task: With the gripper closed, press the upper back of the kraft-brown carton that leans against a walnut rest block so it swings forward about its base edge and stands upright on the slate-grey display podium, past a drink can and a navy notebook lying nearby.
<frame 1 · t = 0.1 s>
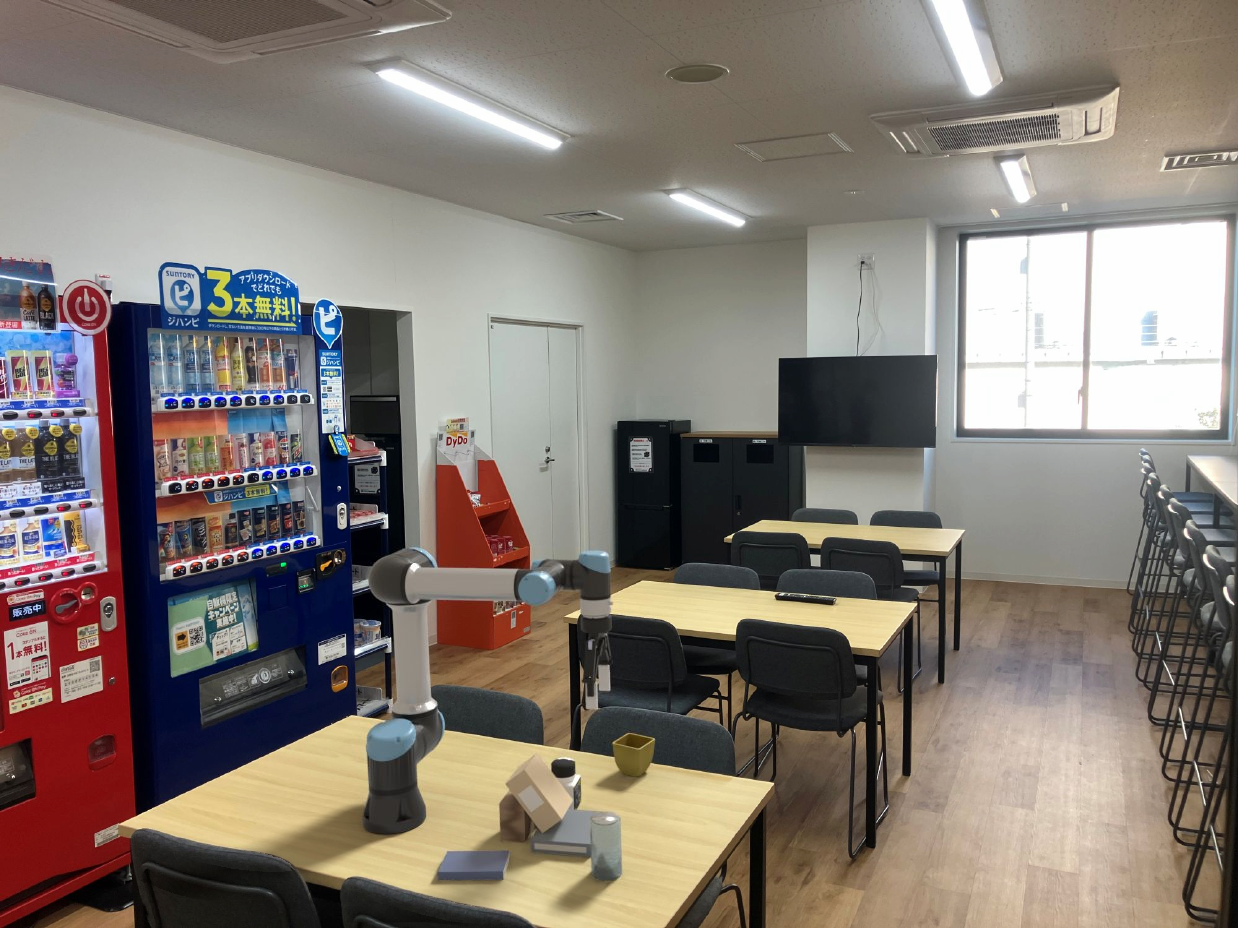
hand: (598, 699, 226), 28 cm above the table, fingers open, 13 cm apart
medicine bottle: (564, 807, 230), on the table
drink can: (606, 872, 198), on the table
flower pot: (634, 773, 250), on the table
carton: (539, 792, 215), point 10 cm above the table, hinge at -37.5°, touching rest block
notebook: (474, 871, 201), on the table
podium: (569, 837, 214), on the table
rest block: (518, 833, 217), on the table
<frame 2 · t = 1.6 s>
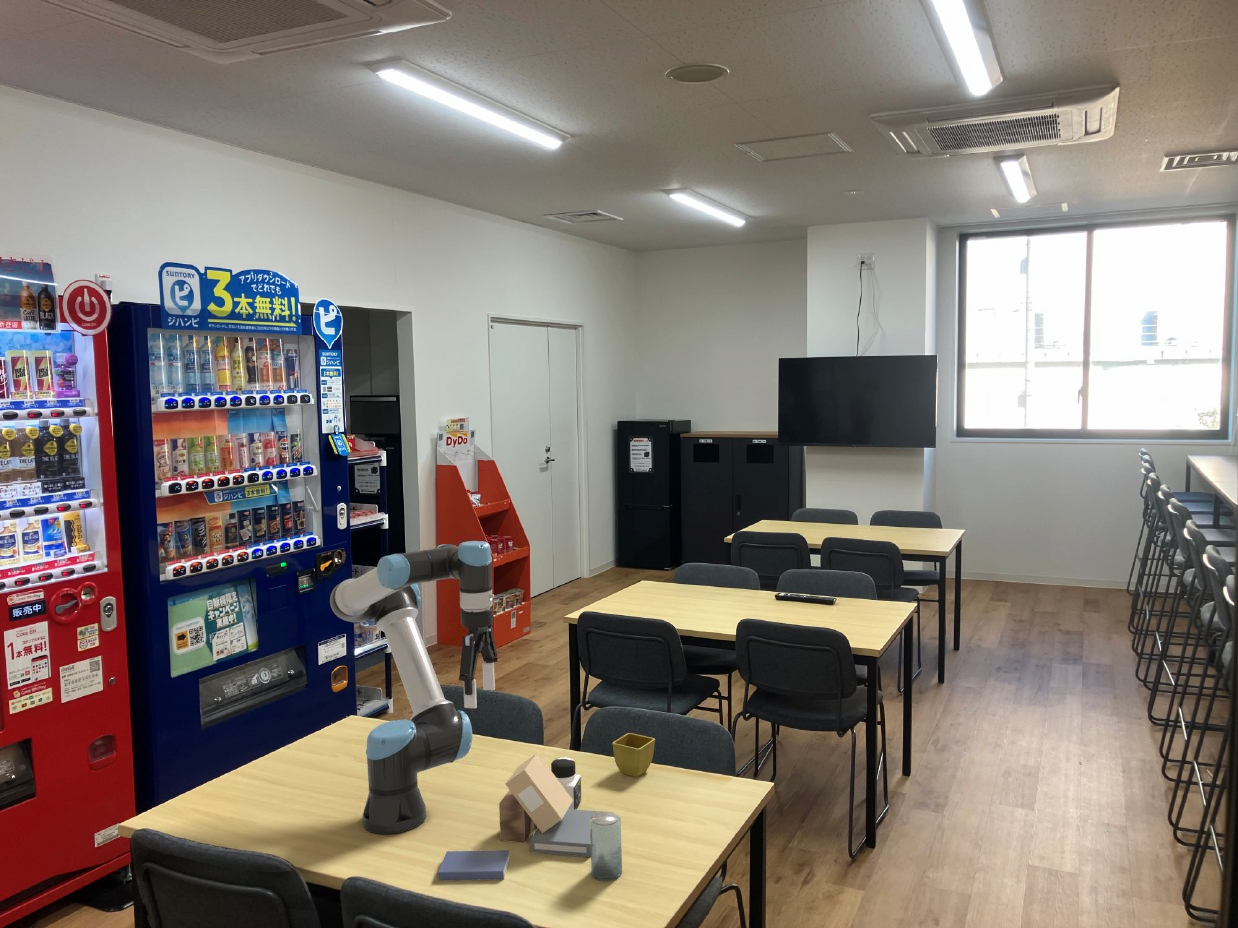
hand: (480, 698, 216), 32 cm above the table, fingers open, 12 cm apart
nothing on the table moved.
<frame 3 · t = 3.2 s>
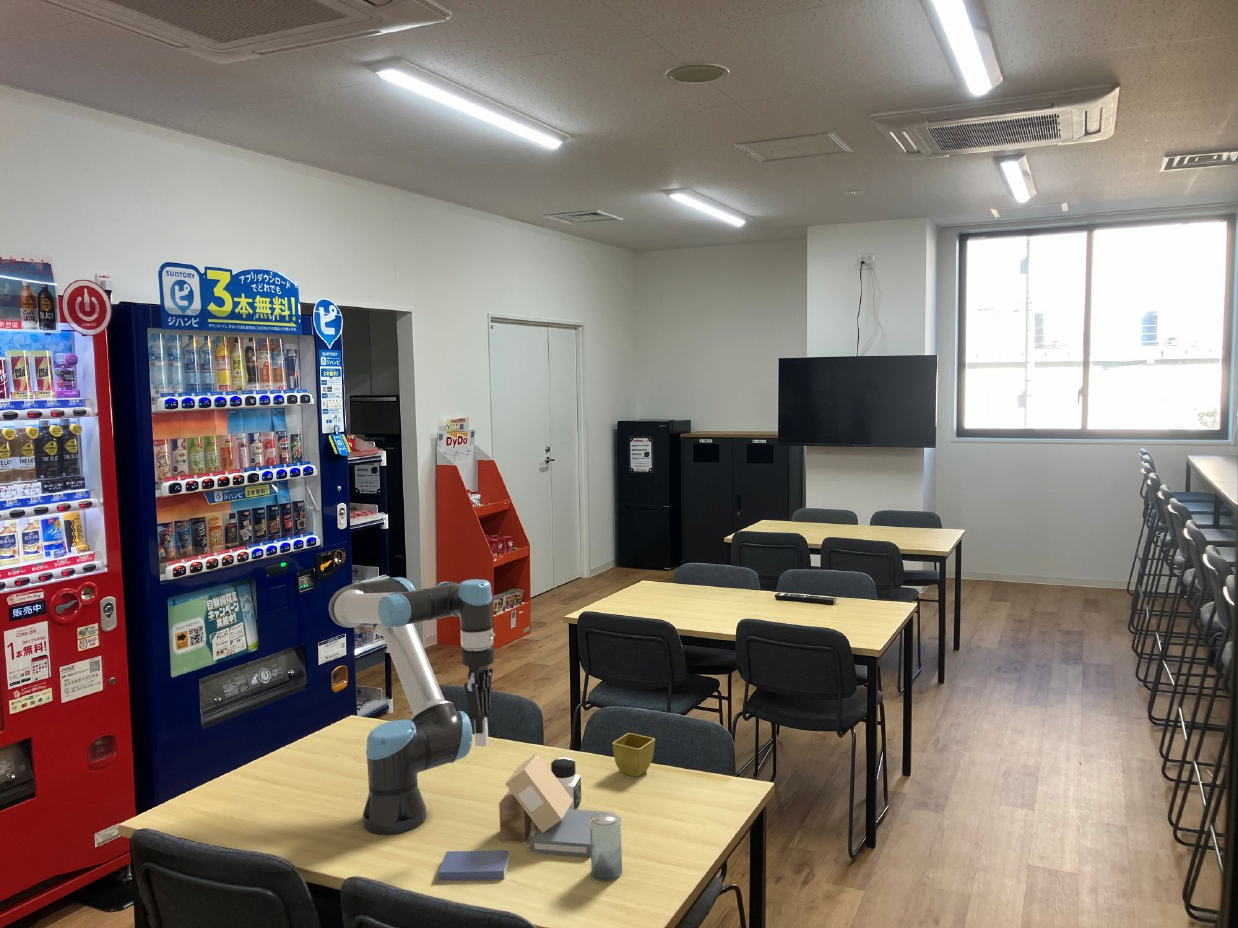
hand: (481, 744, 217), 21 cm above the table, fingers closed
nothing on the table moved.
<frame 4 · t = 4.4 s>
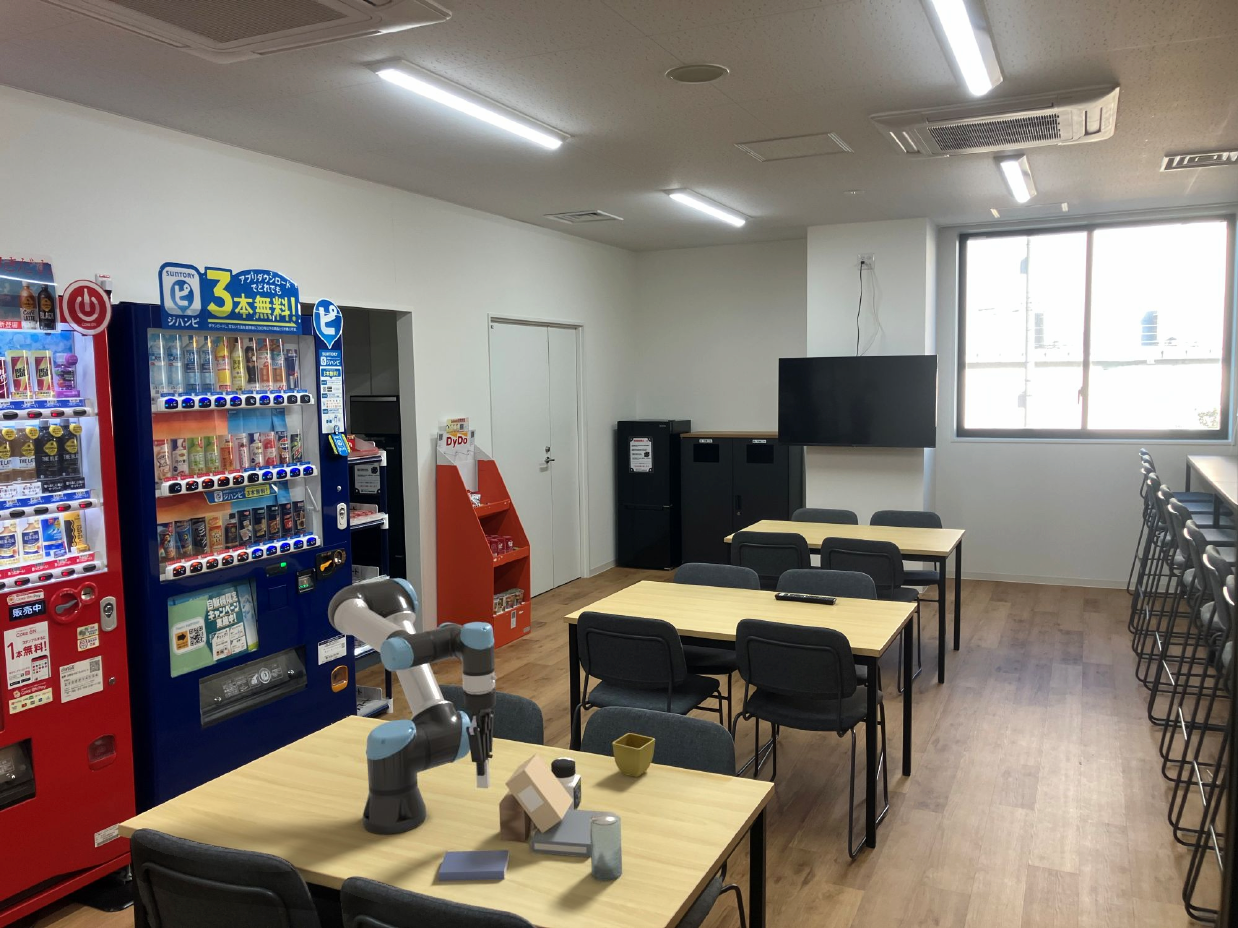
hand: (483, 786, 217), 11 cm above the table, fingers closed
nothing on the table moved.
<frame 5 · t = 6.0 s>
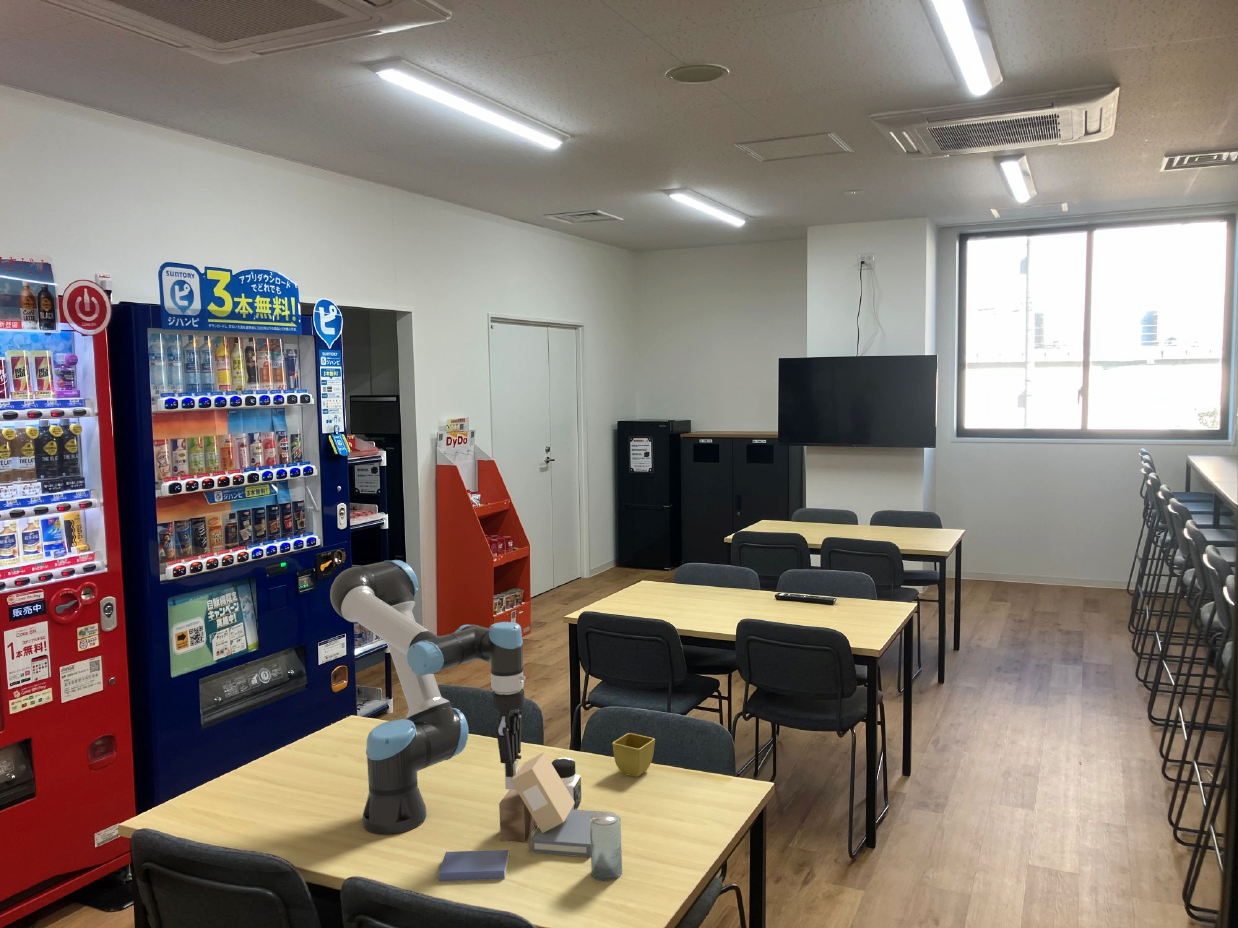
hand: (512, 787, 216), 11 cm above the table, fingers closed
carton: (543, 791, 214), point 11 cm above the table, hinge at -30.4°, touching gripper
everything else where it was.
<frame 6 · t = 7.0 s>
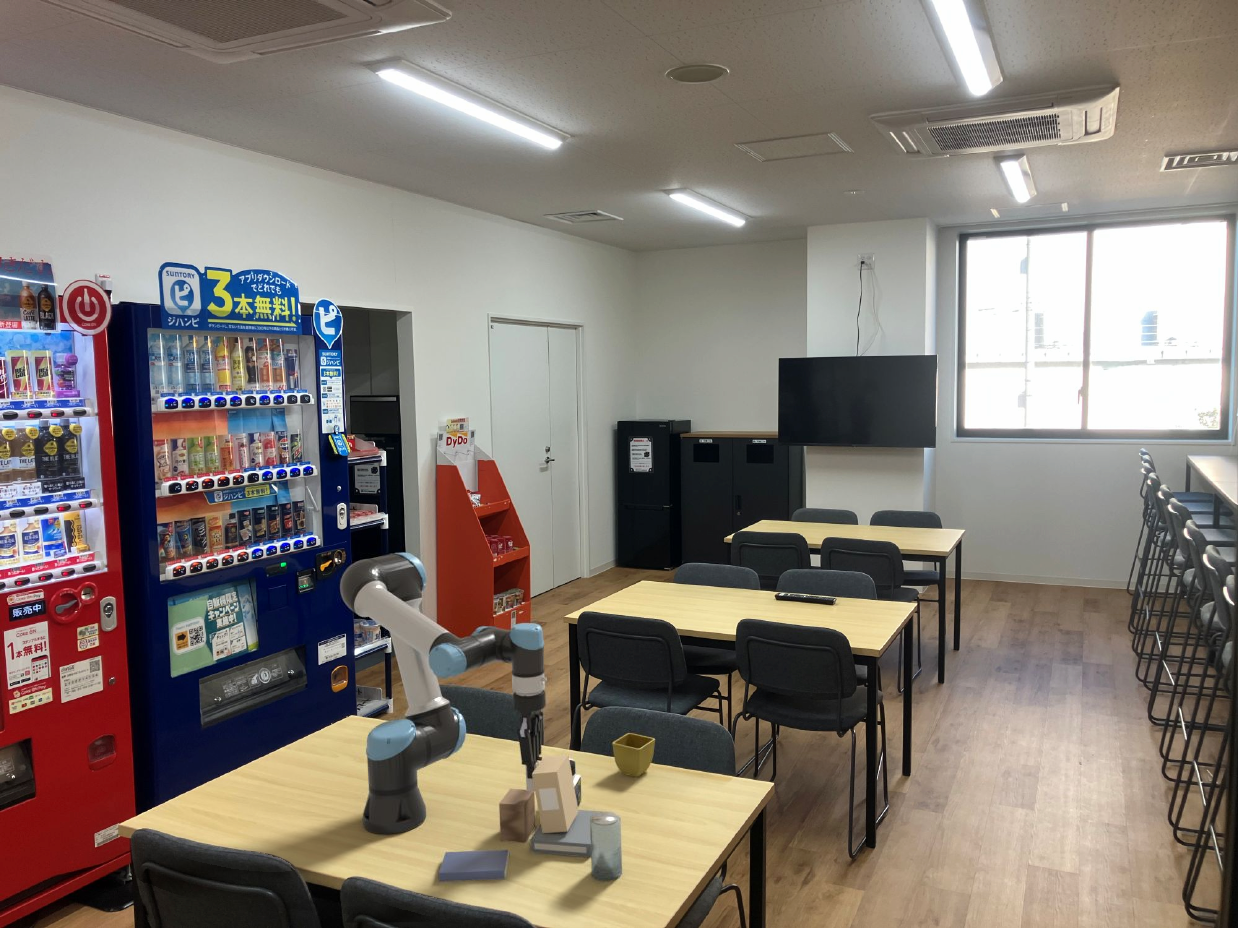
hand: (533, 789, 215), 11 cm above the table, fingers closed
carton: (555, 793, 214), point 11 cm above the table, hinge at -8.4°
everything else where it was.
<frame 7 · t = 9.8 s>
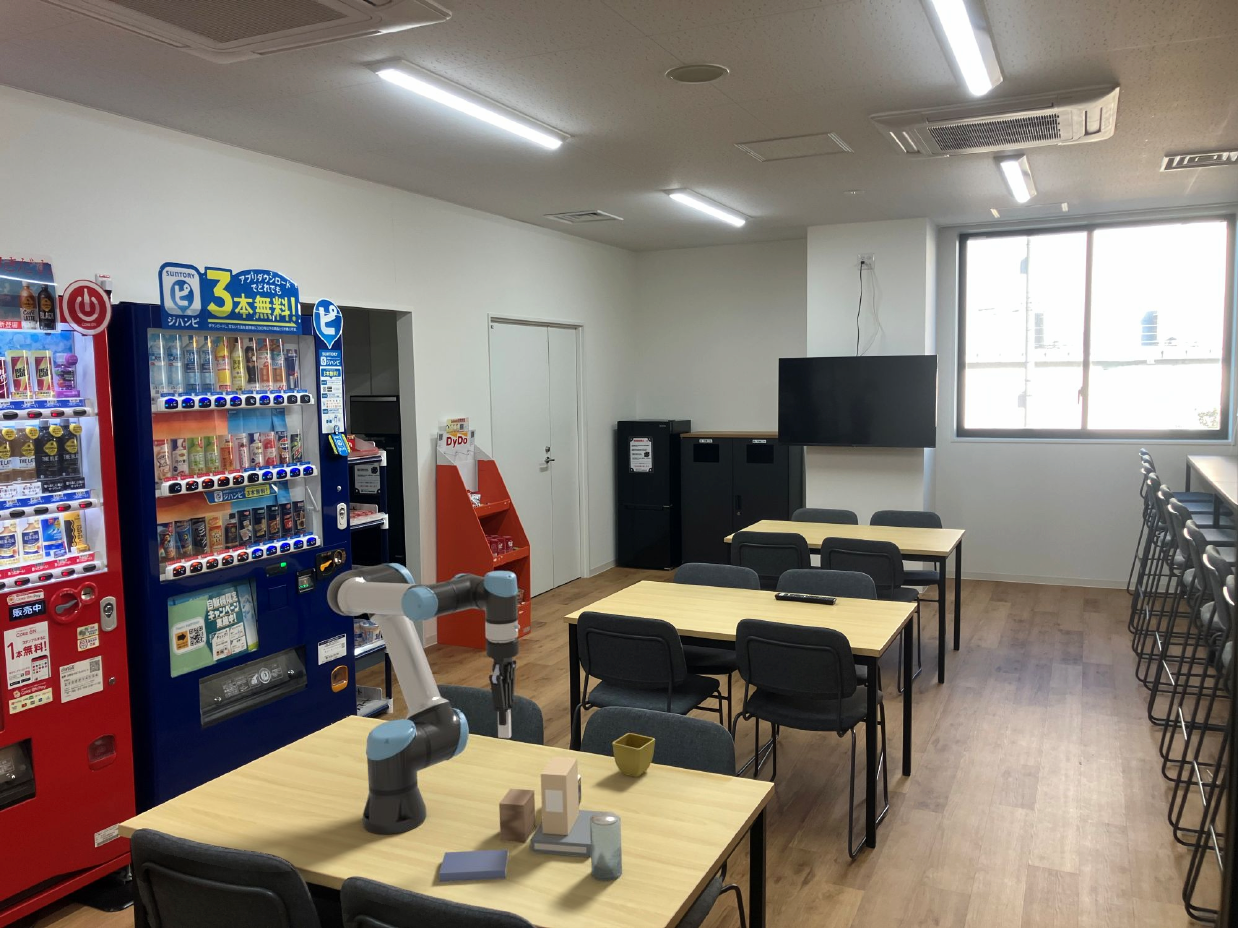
hand: (504, 736, 216), 23 cm above the table, fingers closed
carton: (560, 794, 214), point 10 cm above the table, hinge at 0.1°
everything else where it was.
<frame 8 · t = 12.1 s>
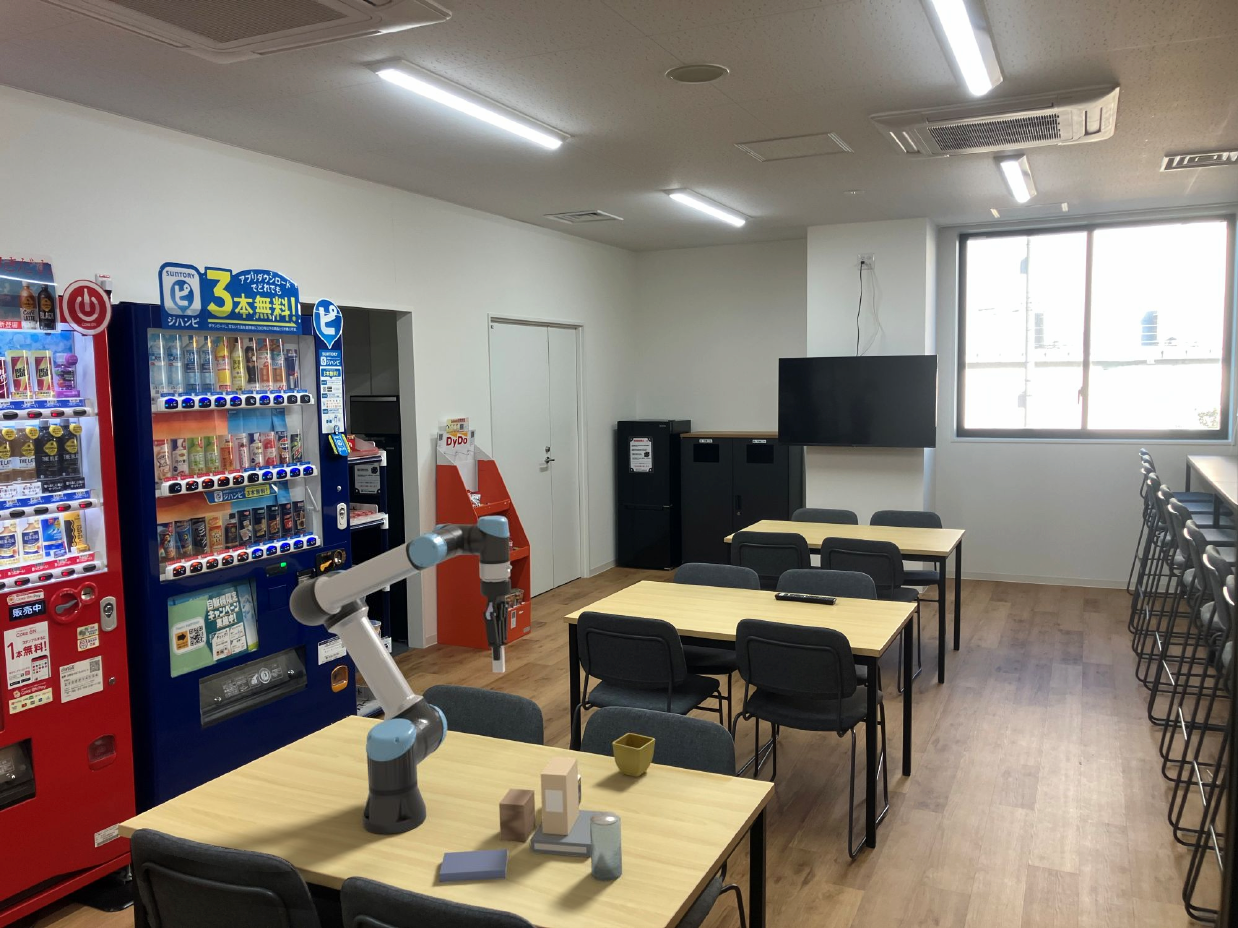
hand: (498, 671, 229), 34 cm above the table, fingers closed
nothing on the table moved.
at the end: carton at +0° (first picture: -37°); carton touching nothing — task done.
